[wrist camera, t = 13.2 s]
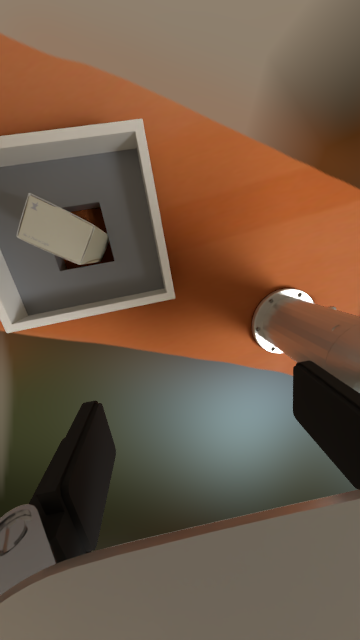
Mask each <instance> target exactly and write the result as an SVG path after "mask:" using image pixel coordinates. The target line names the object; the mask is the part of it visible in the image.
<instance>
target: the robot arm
mask: <svg viewBox="0 0 360 640" xmlns="http://www.w3.org/2000/svg"><path fill="white" fill-rule="evenodd" d="M252 333H253V336H254V338H255V340H256V342H257V343H258V344H259V345H260V346H261V347H262V348H263V349H265V350H267V351H269V352H272V353H285V354H286V355H288V356H289V357H290V358H292V359H293V360H295V361H296V362H298V363H297V364H296V366H294V369H293V413H294V416H295V418H296V419H297V421H298V422H299V423H300V424H301V425H302V427H303V428H304V429H305V430H306V431H307V432H308V433H309V435H310V436H311V437H312V438H313V439H314V441H315V442H316V443H317V444H318V445H319V446H320V447H321V449H322V450H323V451H324V452H325V453H326V454H327V456H328V457H329V458H330V459H331V460H332V462H334V464H335V465H336V466H337V467H338V468H339V469H340V471H341V472H342V473H343V474H344V475H345V477H346V478H347V479H348V480H349V481H350V482H351V484H352V485H353V486H354V487H355V488H357V489H359V490H355V491H351V492H346V493H342V494H337V495H333V496H328V497H324V498H319V499H315V500H310V501H306V502H301V503H296V504H292V505H288V506H283V507H279V508H274V509H270V510H266V511H261V512H257V513H252V514H248V515H244V516H239V517H235V518H230V519H226V520H222V521H217V522H213V523H209V524H205V525H200V526H196V527H192V528H187V529H183V530H179V531H175V532H170V533H166V534H162V535H158V536H153V537H149V538H145V539H141V540H136V541H132V542H129V543H125V544H121V545H117V546H113V547H109V548H105V549H101V550H97V551H94V552H91V551H92V550H95V548H96V545H97V542H98V537H99V532H100V527H101V522H102V517H103V513H104V508H105V504H106V498H107V493H108V489H109V484H110V480H111V475H112V470H113V465H114V461H115V455H116V450H115V445H114V442H113V438H112V435H111V432H110V429H109V426H108V422H107V419H106V416H105V412H104V409H103V406H102V404H101V403H98V402H97V401H91V402H86V403H83V404H82V406H81V408H80V410H79V412H78V414H77V415H76V417H75V419H74V421H73V423H72V425H71V428H70V429H69V431H68V433H67V435H66V437H65V438H64V439H63V440H62V441H61V443H60V445H59V447H58V449H57V451H56V453H55V455H54V457H53V459H52V460H51V462H50V464H49V466H48V468H47V470H46V472H45V474H44V476H43V478H42V480H41V482H40V484H39V486H38V487H37V489H36V491H35V493H34V495H33V497H32V499H31V501H30V503H29V504H27V505H21V506H19V507H16V508H14V509H12V510H11V511H9V512H8V513H6V514H5V515H4V516H2V517H1V518H0V640H360V317H359V316H356V315H352V314H349V313H345V312H342V311H338V310H336V308H335V307H334V306H330V307H325V306H321V305H318V304H314V302H313V300H312V298H311V297H310V296H309V295H308V294H306V293H305V292H303V291H301V290H298V289H293V288H284V289H280V290H277V291H275V292H273V293H271V294H269V295H268V296H267V297H266V298H264V299H263V300H262V302H261V303H260V304H259V305H258V307H257V309H256V311H255V313H254V316H253V319H252Z"/></svg>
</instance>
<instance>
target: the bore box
mask: <svg viewBox="0 0 360 640" xmlns="http://www.w3.org/2000/svg"><path fill="white" fill-rule="evenodd" d="M28 193H31V194H33V195H35V196H37V197H40V198H42V199H44V200H46V201H48V202H50V203H52V204H54V205H56V206H58V207H60V208H62V209H65V210H67V211H68V212H73V211H80V210H86V209H92V208H98V207H101V211H102V215H103V219H104V223H105V226H106V230H107V234H108V238H109V242H110V245H111V249H112V253H113V257H114V261H112V262H106V263H101V264H96V265H90V266H85V267H79V268H74V269H68V270H67V268H66V265H65V262H64V259H63V258H61V257H59V256H56V255H54V254H52V253H50V252H47V251H45V250H43V249H40V248H38V247H36V246H34V245H32V244H29V243H27V242H25V241H23V240H21V239H19V238H17V236H16V235H17V231H18V227H19V223H20V219H21V216H22V213H23V209H24V206H25V203H26V200H27V197H28ZM171 299H175V293H174V287H173V282H172V277H171V271H170V266H169V260H168V255H167V249H166V244H165V239H164V233H163V228H162V222H161V217H160V212H159V206H158V201H157V195H156V190H155V184H154V179H153V174H152V168H151V163H150V157H149V152H148V147H147V141H146V136H145V130H144V125H143V119H135V120H127V121H119V122H111V123H103V124H95V125H87V126H78V127H70V128H62V129H54V130H46V131H38V132H30V133H22V134H14V135H6V136H0V320H1V322H2V324H3V326H4V328H5V331H6V333H10V332H15V331H20V330H25V329H30V328H35V327H40V326H44V325H49V324H54V323H59V322H64V321H69V320H74V319H78V318H83V317H88V316H93V315H98V314H103V313H107V312H112V311H117V310H122V309H127V308H132V307H137V306H141V305H146V304H151V303H156V302H161V301H166V300H171Z"/></svg>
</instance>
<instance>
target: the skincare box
mask: <svg viewBox="0 0 360 640" xmlns="http://www.w3.org/2000/svg"><path fill="white" fill-rule="evenodd" d="M16 236H17V238H19V239H21V240H23V241H25V242H27V243H29V244H32V245H34V246H36V247H38V248H40V249H43V250H45V251H47V252H50V253H52V254H54V255H56V256H59V257H61V258H64V259H66V260H68V261H71V262H73V263H76V264H79V265H82V264H89V263H96V262H101V260H102V258H103V256H104V253H105V251H106V248H107V246H108V243H109V238H108V234H107V233H105V232H104V231H102V230H101V229H99V228H98V227H96V226H95V225H93V224H91V223H90V222H88V221H86V220H84V219H82V218H80V217H78V216H76V215H74V214H72V213H70V212H68V211H67V210H65V209H62V208H60V207H58V206H56V205H54V204H52V203H50V202H48V201H46V200H44V199H42V198H40V197H37V196H35V195H33V194H31V193H28V197H27V200H26V203H25V206H24V209H23V213H22V216H21V219H20V223H19V227H18V231H17V235H16Z"/></svg>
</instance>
